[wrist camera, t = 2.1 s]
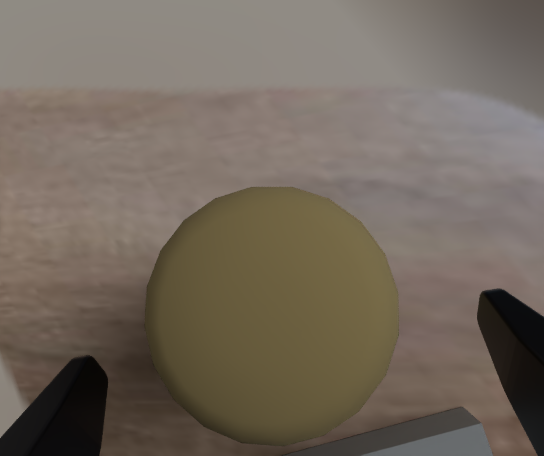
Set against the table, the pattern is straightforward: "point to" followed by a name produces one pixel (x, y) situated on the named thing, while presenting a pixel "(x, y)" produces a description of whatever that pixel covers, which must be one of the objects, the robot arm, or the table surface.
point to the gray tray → (414, 439)
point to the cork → (271, 315)
